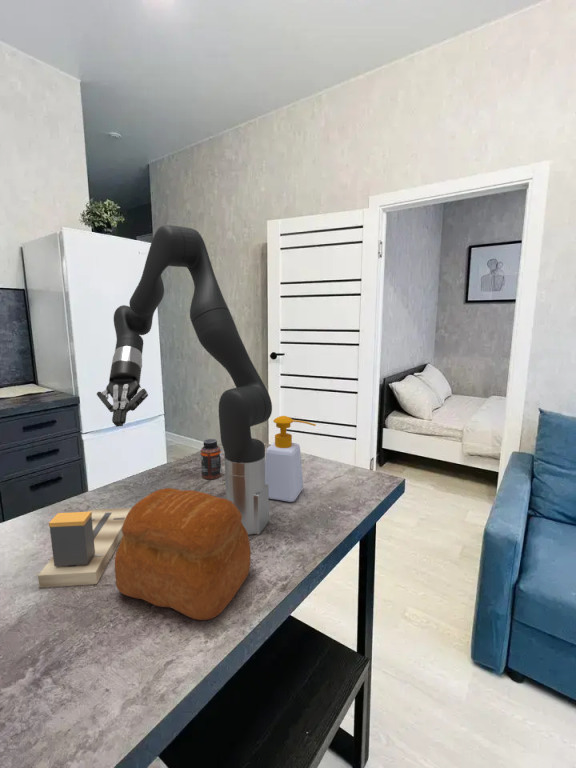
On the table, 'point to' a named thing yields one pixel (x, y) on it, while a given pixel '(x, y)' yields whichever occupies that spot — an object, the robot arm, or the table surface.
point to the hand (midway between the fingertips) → (118, 424)
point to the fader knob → (72, 538)
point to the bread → (183, 552)
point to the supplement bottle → (211, 459)
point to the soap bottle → (284, 464)
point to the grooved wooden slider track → (105, 544)
